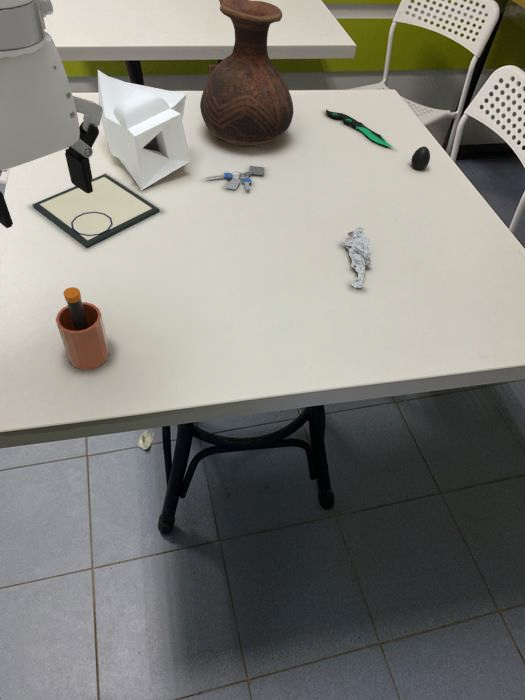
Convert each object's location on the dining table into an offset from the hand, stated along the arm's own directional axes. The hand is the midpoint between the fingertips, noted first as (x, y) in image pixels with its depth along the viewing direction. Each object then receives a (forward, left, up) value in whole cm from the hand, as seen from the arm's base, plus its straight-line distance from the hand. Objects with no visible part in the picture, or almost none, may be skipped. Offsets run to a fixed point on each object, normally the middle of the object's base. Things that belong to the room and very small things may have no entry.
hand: (44, 203), depth 53 cm
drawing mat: (+23, +29, -26) cm, 45 cm away
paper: (+48, -16, -26) cm, 57 cm away
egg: (+89, -6, -26) cm, 93 cm away
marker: (0, 0, -25) cm, 25 cm away
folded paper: (+42, +38, -26) cm, 62 cm away
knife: (+93, +14, -26) cm, 98 cm away
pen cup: (0, 0, -26) cm, 26 cm away
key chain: (+52, +17, -26) cm, 61 cm away
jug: (+68, +31, -26) cm, 79 cm away
